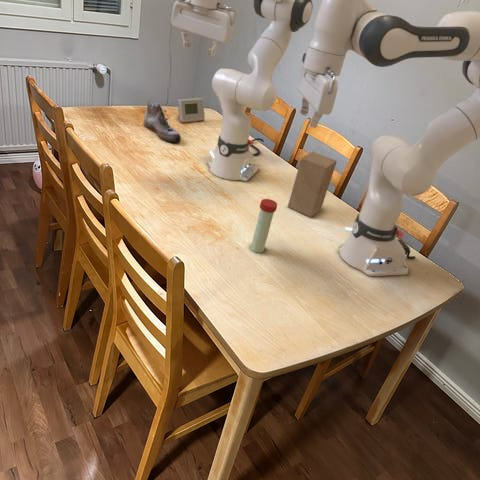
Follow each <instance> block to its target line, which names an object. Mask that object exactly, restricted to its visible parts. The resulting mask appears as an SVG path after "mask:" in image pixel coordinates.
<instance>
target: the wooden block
mask: <svg viewBox="0 0 480 480" xmlns="http://www.w3.org/2000/svg"><path fill="white" fill-rule="evenodd" d="M337 163H338V162H337V160H336V159H333V158H330V157H328V156H326V155H323V154H321V153H318V152H315V151H310V152H309V153H307V154H305V155H304V156H302V157H301V158H300V161H299V165H298V167H297V168H298V169H297V172H296V175H295V179H294V183H293V186H292V189H291V193H290V196H289V199H288V203H287V208H290V209H291V210H294V211H296V212H298V213H301V214H302V215H305V216H307V217H309V218H312V217H313V216H314V215H316V214H317V213H318V212H319V211H321V209H322V207H323V205H324V201H325V198H326V195H327V194H328V193H327V192H328V189H329V186H330V184H331V180H332V178H333V174H334V171H335V168H336V165H337Z"/></svg>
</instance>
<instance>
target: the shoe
mask: <svg viewBox="0 0 480 480" xmlns="http://www.w3.org/2000/svg"><path fill="white" fill-rule="evenodd" d="M164 112H165V113H166V112H167V110H166V109H163V108H162V107H161V104H160V103H155V101H153V103H150V101H147V106H146V109H145V112H144V116H143V124H144V125H143V126H144V127H146V128H149V130H152V131H154V132H155V133H156V134H157V136H158V138H159V139H160V140H162V141H166V142H168V143H172V144H173V143H174V144H178V143H180V142H181V134H180V133H179V132H178V131H177V130H176V129H175V128H173V127H172V126H170V125H169V122H168V118H167V117H166V116H165V113H164Z"/></svg>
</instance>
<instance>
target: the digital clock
mask: <svg viewBox="0 0 480 480" xmlns="http://www.w3.org/2000/svg"><path fill="white" fill-rule="evenodd" d="M177 109H178V110H177V112H178V120H179V123H187V124H188V123H196V122H197V123H198V122H200V121H204V120H205V118H206V117H205V106H204V98H203V97H187V98H182V99H178V100H177Z"/></svg>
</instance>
